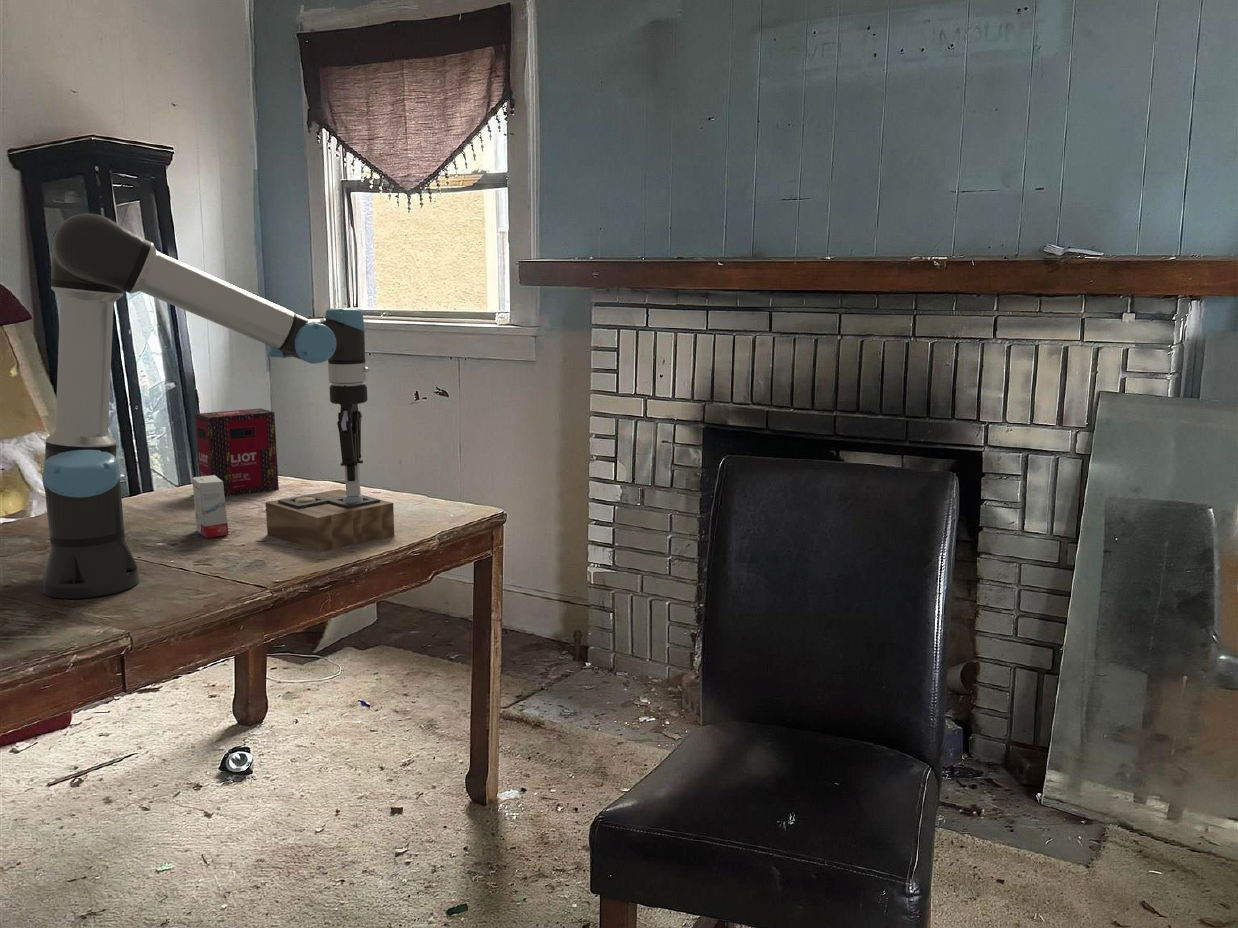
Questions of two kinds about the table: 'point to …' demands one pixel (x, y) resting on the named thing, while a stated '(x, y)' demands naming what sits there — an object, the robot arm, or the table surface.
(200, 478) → the ink box
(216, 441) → the box
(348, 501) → the slate peg front
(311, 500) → the birch peg rear
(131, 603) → the table surface
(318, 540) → the walnut block
